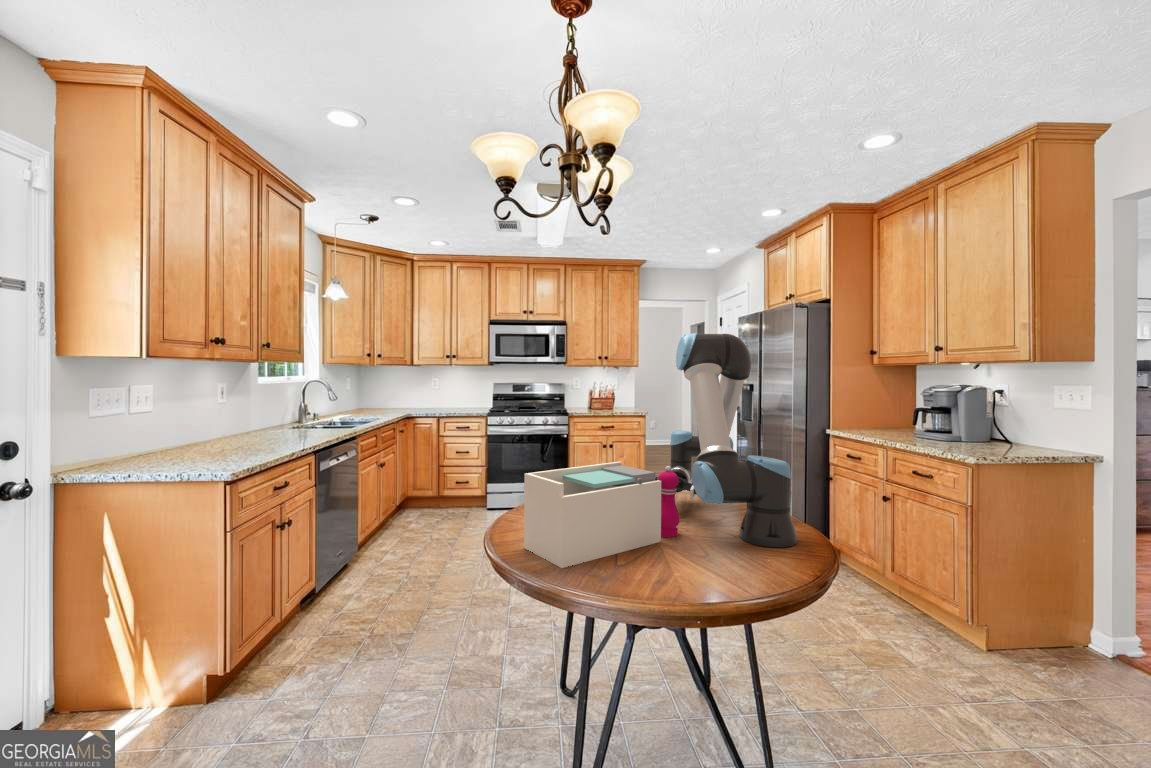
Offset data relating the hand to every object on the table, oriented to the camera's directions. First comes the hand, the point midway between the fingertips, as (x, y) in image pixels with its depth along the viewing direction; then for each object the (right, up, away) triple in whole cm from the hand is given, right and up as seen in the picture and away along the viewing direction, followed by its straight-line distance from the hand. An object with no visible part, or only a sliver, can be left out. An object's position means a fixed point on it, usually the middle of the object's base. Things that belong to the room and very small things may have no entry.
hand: (668, 492), depth 154 cm
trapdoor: (-19, +4, -13) cm, 23 cm away
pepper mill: (-2, -11, -6) cm, 13 cm away
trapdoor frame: (-23, -11, -15) cm, 30 cm away
